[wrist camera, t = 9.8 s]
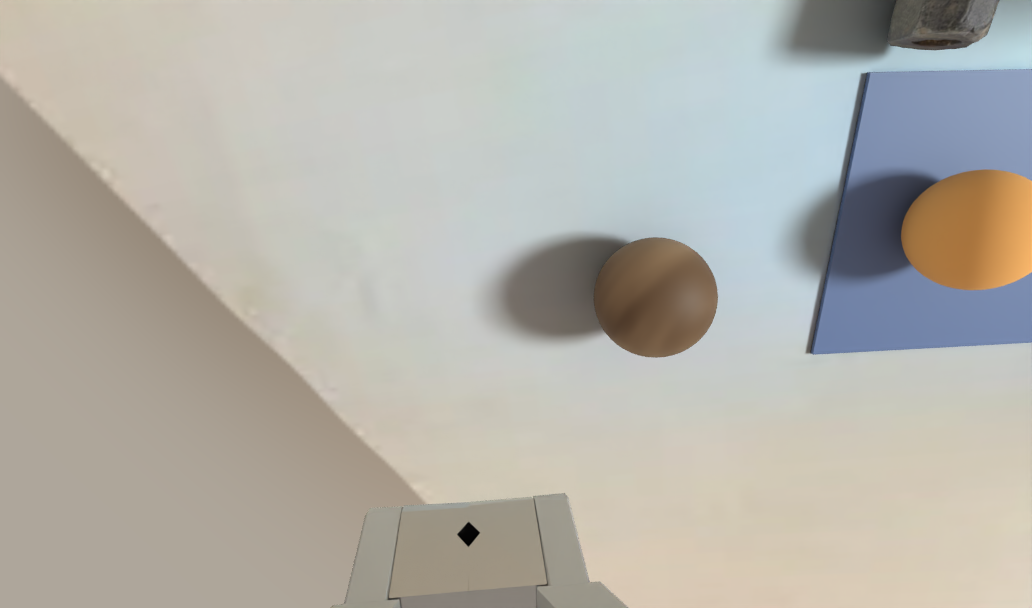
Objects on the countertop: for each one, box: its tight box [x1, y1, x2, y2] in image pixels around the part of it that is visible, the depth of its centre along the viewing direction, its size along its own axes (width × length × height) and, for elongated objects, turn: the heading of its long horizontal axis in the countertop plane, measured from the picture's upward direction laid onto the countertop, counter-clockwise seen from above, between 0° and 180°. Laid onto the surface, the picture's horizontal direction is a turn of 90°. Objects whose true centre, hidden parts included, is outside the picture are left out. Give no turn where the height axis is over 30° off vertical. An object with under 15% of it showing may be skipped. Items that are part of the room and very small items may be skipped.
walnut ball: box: [594, 238, 718, 357], centre depth 24 cm, size 5×5×5 cm
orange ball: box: [901, 169, 1032, 290], centre depth 24 cm, size 5×5×5 cm
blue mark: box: [811, 69, 1032, 354], centre depth 27 cm, size 14×14×1 cm
